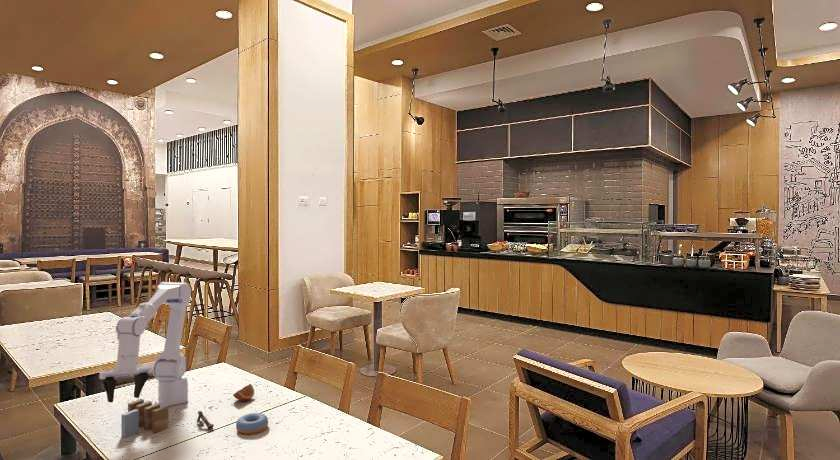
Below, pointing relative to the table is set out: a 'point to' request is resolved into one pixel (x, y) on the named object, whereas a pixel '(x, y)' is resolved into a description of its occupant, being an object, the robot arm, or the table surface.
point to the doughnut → (252, 423)
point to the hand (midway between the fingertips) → (123, 399)
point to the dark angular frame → (210, 426)
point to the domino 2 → (129, 423)
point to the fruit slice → (245, 393)
